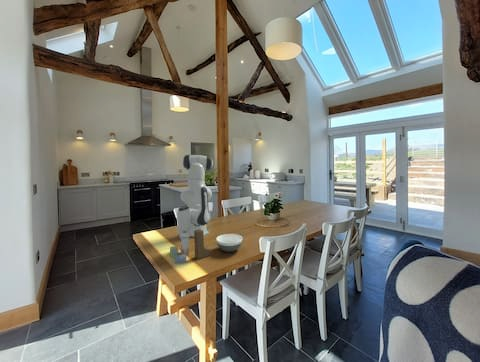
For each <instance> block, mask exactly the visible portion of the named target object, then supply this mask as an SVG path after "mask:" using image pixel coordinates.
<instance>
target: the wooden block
mask: <svg viewBox="0 0 480 362" xmlns="http://www.w3.org/2000/svg"><path fill="white" fill-rule="evenodd" d="M204 236H205V235H204V233H203V230H201V229H199V230H195V231H194V238H193V240H194V258H196V259H197V260H200V259H204V258H206V257H208V256H209V257H210V256H211V249H210V248H209V247H206V246H205V241H204V240H205V239H204Z"/></svg>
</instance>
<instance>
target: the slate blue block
mask: <svg viewBox="0 0 480 362" xmlns="http://www.w3.org/2000/svg"><path fill="white" fill-rule="evenodd" d="M183 263H187V255H186V254H181V253H180V254H178V255H175V256H174V264H175V265H176V264H183Z"/></svg>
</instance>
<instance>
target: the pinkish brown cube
mask: <svg viewBox="0 0 480 362" xmlns="http://www.w3.org/2000/svg"><path fill="white" fill-rule="evenodd" d="M189 249H190V246H188V249H187V253H184V250H183V249H182V245H180V255H181V254H186V256H188V255H190V250H189Z"/></svg>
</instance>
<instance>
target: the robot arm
mask: <svg viewBox="0 0 480 362" xmlns="http://www.w3.org/2000/svg"><path fill="white" fill-rule="evenodd" d="M182 158H183V159H182V165H183V168H184V169H187V171H188V175H187V187H188V188H187V189H186V188H185V189H183V190H182V191H181V192H180V200H181V201H183V203H185V204H186V205H185V206H180V207H179V208H178V210H177V214H176V216H177V217H176V219H177V235H178V236H179V239H180V243H181V245H180V246H182V249H183V250H184V253H187V249H188V246H189V244H190V237H192V238H193V237H194V231H195V230H199V229H201V230H203V233H204V236H206V235H208V234H210V233H209V232H210V231H208V230H207V224H208V223H209V222H210V220H211V215H210V210H209V200H211V198H212V195H213V193H212V190H211V189H210V188H209V187H208V186H207V185H206V182H205V175H206V174H205V173H206V171H210V170H211V169H212V168H213V167H214V161H213V158H212V157H211V156H206V155H200V154H185V155H184V157H182ZM198 202H199V205H198V204H197V203H198ZM189 247H190V246H189Z"/></svg>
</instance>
